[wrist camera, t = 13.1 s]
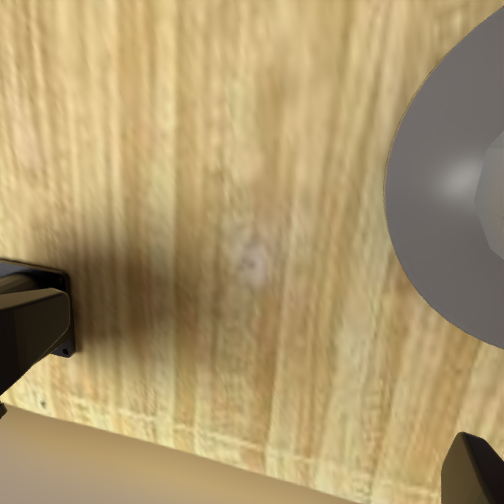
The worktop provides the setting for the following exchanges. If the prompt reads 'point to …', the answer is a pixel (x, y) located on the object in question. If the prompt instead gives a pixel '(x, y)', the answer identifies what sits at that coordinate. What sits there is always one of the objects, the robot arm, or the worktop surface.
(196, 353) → the worktop surface
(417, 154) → the can holder
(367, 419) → the worktop surface
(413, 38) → the worktop surface
